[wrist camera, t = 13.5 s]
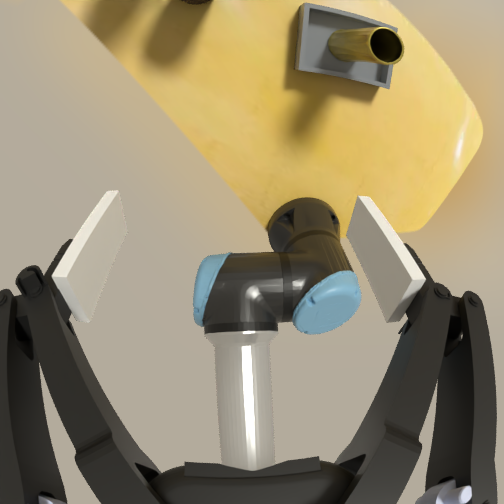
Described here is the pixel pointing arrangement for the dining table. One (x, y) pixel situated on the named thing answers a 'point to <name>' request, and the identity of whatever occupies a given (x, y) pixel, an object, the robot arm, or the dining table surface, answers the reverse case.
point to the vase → (367, 45)
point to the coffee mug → (195, 1)
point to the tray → (317, 50)
